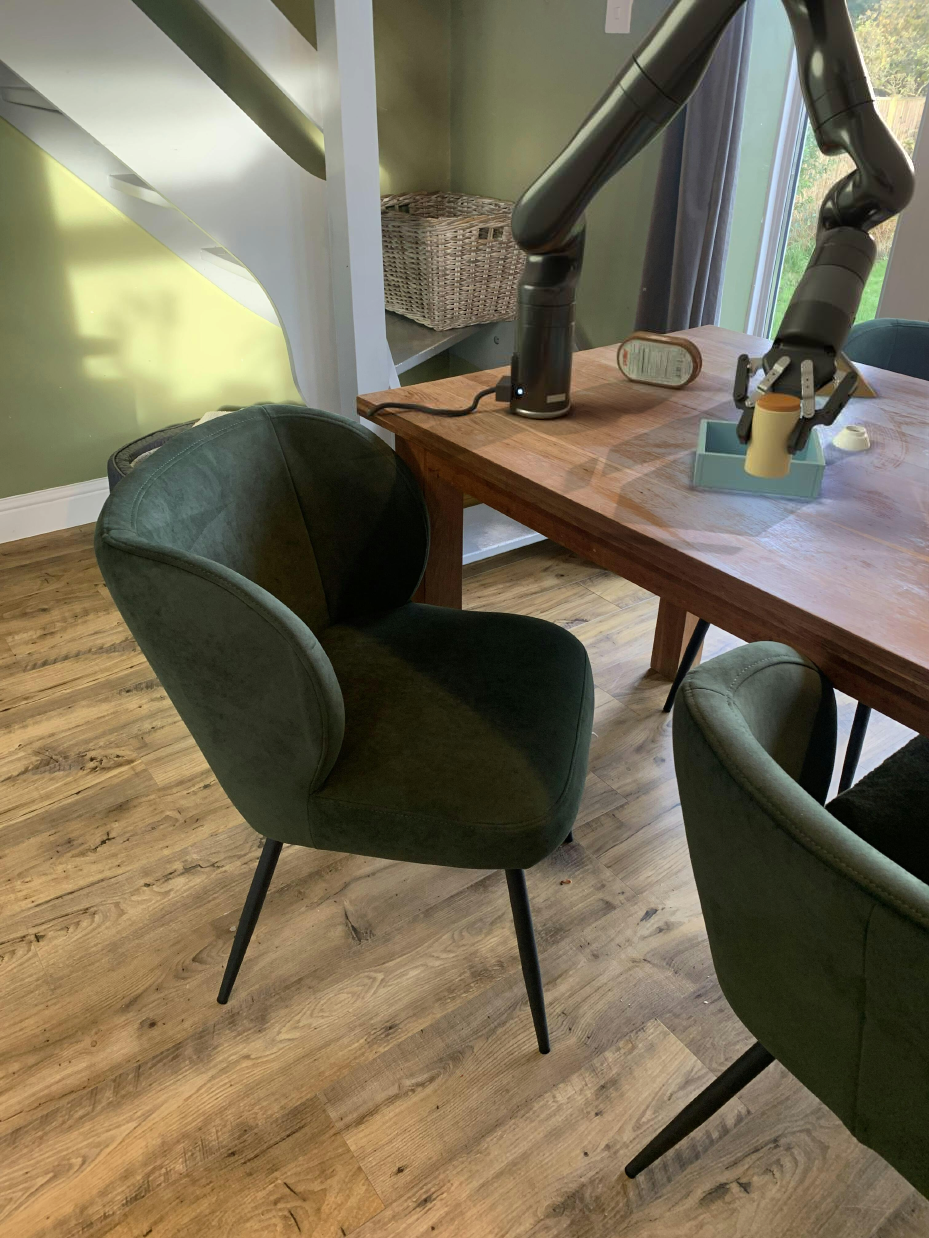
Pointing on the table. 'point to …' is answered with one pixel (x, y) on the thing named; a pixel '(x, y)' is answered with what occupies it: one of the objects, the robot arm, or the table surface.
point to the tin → (659, 359)
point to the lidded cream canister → (772, 435)
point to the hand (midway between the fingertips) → (766, 446)
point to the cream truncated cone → (852, 438)
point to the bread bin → (726, 460)
